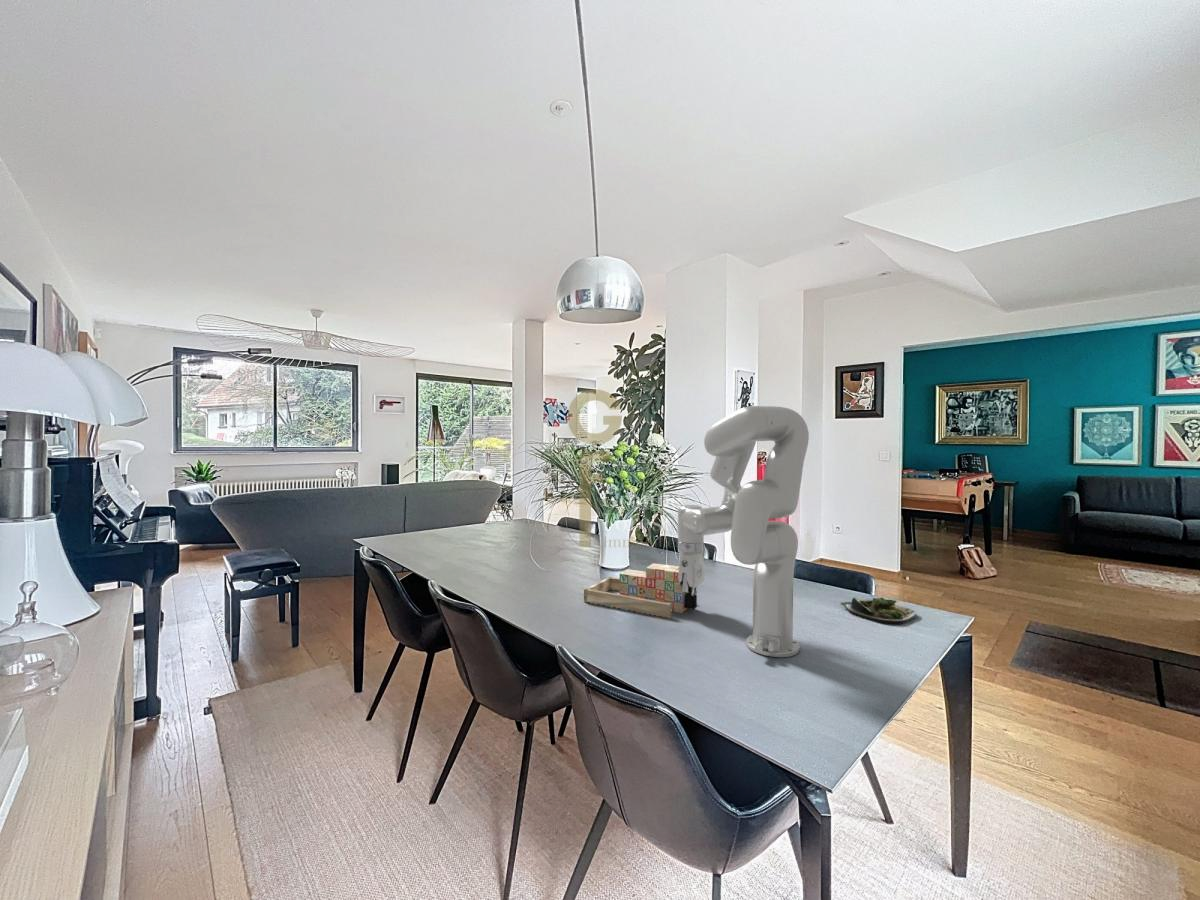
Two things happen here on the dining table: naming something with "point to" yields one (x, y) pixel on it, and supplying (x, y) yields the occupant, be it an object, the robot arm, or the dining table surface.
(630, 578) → the stack of blocks
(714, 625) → the dining table surface
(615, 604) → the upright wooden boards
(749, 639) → the robot arm
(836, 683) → the dining table surface
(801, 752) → the dining table surface
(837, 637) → the dining table surface
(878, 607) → the salad plate
